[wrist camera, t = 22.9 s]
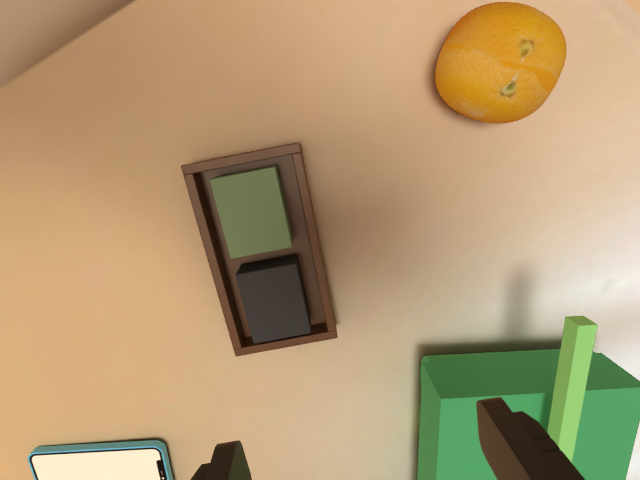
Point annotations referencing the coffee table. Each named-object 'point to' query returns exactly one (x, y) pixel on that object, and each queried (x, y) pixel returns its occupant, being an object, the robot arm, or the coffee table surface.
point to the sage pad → (253, 211)
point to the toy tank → (530, 405)
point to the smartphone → (102, 461)
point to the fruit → (500, 62)
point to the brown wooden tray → (302, 245)
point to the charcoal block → (274, 298)
